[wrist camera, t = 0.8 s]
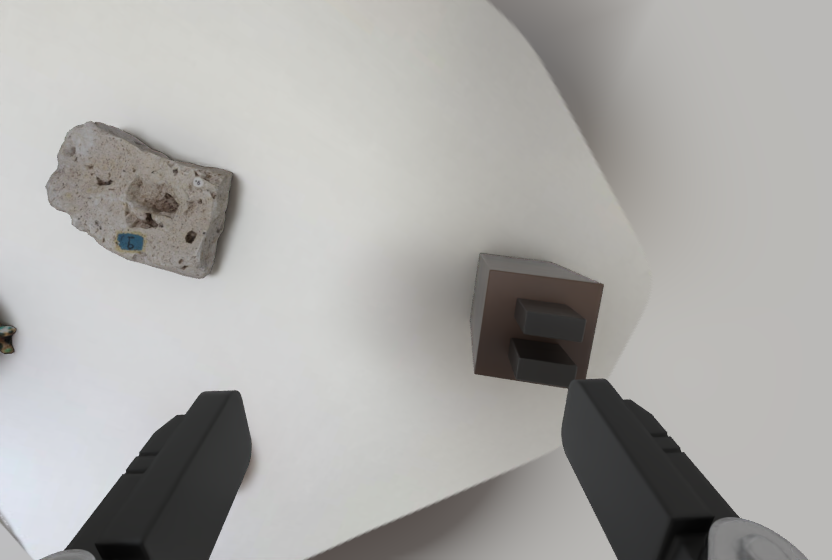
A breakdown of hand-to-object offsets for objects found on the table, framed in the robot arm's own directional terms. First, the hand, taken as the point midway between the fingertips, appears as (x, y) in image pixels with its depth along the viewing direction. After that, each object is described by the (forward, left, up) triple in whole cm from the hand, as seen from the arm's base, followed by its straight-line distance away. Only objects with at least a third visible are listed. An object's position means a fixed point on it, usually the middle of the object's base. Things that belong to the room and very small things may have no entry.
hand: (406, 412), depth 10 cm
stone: (+13, -19, -21) cm, 32 cm away
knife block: (-4, +4, -21) cm, 22 cm away
